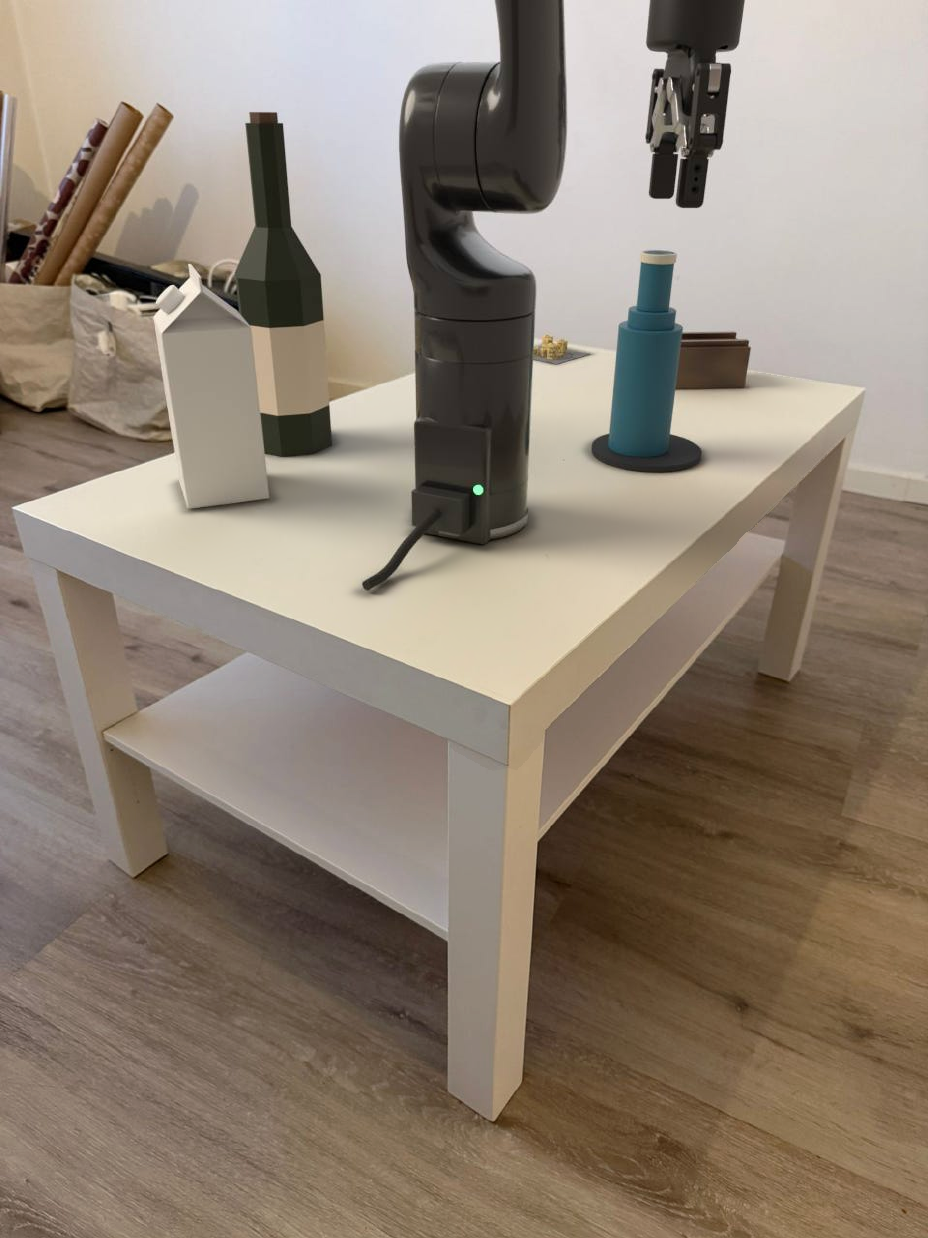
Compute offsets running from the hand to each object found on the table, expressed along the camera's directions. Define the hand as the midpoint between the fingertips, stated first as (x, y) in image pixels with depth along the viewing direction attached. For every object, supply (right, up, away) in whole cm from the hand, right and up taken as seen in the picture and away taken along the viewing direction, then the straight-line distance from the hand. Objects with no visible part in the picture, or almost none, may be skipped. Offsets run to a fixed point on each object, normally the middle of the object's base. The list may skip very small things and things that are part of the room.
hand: (674, 202), depth 80 cm
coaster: (0, -20, +12) cm, 23 cm away
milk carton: (-41, -26, +2) cm, 48 cm away
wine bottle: (-37, -19, +14) cm, 43 cm away
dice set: (-6, 0, +48) cm, 48 cm away
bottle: (+2, -11, +7) cm, 14 cm away
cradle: (+11, -6, +36) cm, 38 cm away
